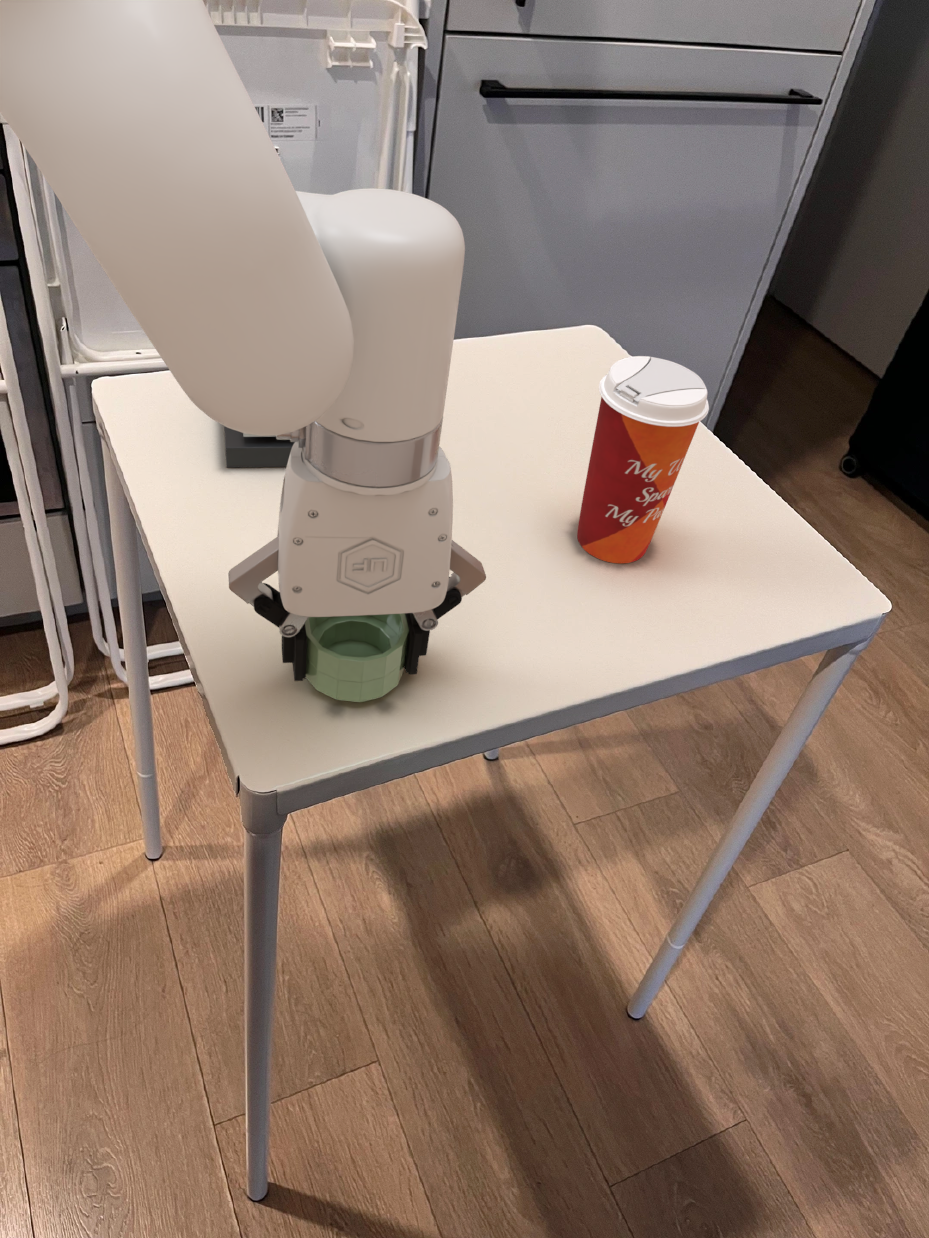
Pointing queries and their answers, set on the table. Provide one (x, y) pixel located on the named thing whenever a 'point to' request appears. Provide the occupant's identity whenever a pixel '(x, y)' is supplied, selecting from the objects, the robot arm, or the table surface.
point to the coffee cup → (637, 453)
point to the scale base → (255, 450)
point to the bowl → (356, 655)
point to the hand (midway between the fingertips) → (353, 661)
